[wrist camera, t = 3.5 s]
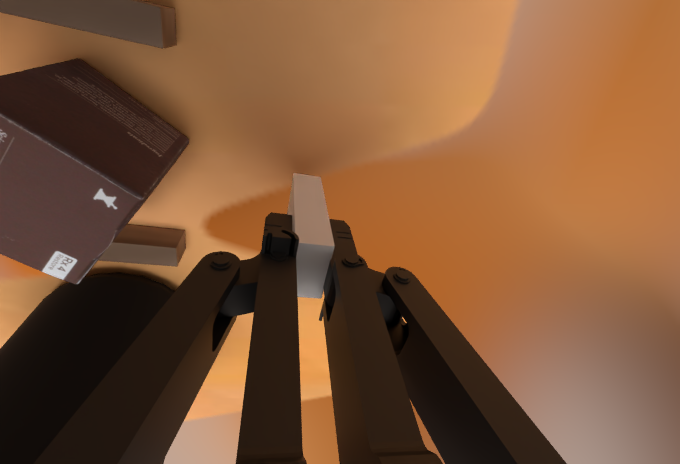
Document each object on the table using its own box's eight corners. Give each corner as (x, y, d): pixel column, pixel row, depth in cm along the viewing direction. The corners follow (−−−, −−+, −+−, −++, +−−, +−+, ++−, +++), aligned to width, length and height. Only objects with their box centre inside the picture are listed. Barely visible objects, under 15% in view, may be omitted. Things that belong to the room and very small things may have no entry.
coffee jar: (184, 367, 29) (77, 724, 15) (44, 344, 25) (-297, 799, 11) (219, 289, 25) (115, 698, 10) (55, 245, 21) (-528, 814, 6)
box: (81, 53, 15) (-54, 77, 9) (194, 139, 18) (147, 200, 12) (28, 142, 17) (-112, 210, 11) (138, 207, 20) (74, 289, 14)
